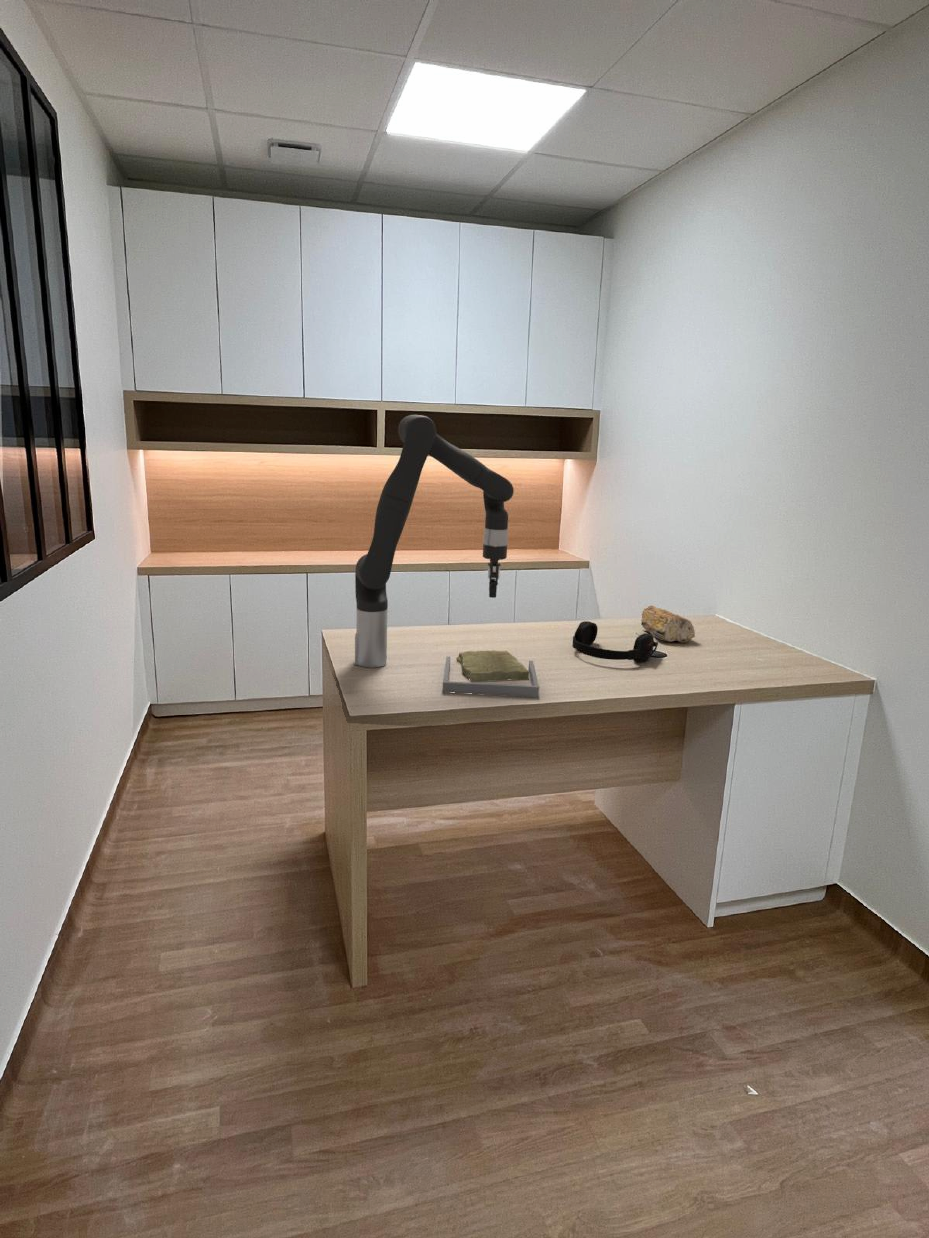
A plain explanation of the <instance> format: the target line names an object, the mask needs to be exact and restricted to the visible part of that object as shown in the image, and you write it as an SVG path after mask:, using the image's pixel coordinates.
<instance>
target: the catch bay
mask: <svg viewBox="0 0 929 1238" xmlns="http://www.w3.org/2000/svg"><path fill="white" fill-rule="evenodd" d="M450 668H451V656H446V659H445V666H444V673H443V681H442V693H443V692H455V693H454V694H457V693H472V694H471V695H476V694H484V695H483V696H496V695H505V696H504V697H516V698H517V696H518V697H520V698H521V697H522V698H539V693H540V685H539V682H538V676H537V672H536V667H535V663H534V660H528V671H529V674H530V675H529V681H530V684H532V685H529V684H527V685H526V684H512V683H511V684H508V683H490V682H489V683H488V682H473V681H468V682H467V681H452V680H451V681H450V680H449V678H450V670H451V669H450Z"/></svg>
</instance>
